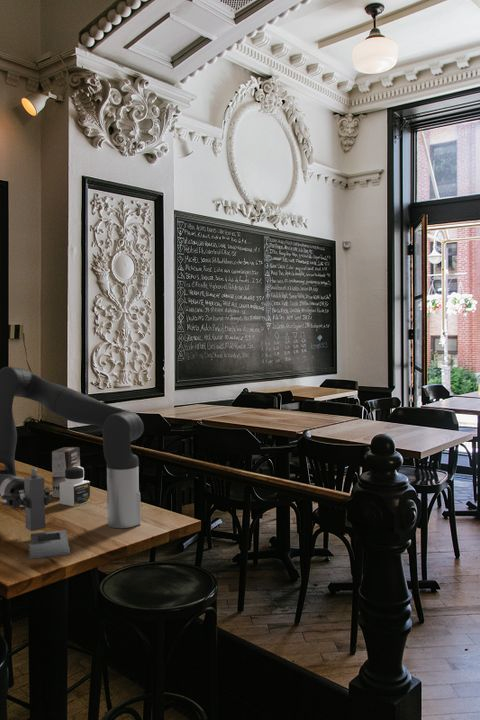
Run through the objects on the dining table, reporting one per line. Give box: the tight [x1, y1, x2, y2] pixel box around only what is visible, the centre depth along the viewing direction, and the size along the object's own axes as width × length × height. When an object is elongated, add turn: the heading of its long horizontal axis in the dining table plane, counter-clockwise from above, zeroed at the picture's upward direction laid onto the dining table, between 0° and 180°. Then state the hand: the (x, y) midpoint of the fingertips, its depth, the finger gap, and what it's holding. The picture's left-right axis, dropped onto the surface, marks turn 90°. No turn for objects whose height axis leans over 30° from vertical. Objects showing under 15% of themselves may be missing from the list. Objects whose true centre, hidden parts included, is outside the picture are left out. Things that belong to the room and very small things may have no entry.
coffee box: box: [51, 446, 81, 498], centre depth 210 cm, size 9×6×16 cm
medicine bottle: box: [59, 466, 91, 507], centre depth 199 cm, size 7×7×12 cm
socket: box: [28, 529, 71, 560], centre depth 156 cm, size 10×10×3 cm
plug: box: [23, 467, 46, 532], centre depth 163 cm, size 4×4×16 cm
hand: (38, 502), depth 161 cm, fingers closed on plug, 4 cm apart
